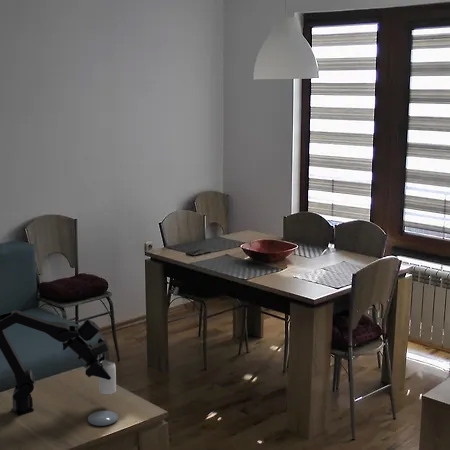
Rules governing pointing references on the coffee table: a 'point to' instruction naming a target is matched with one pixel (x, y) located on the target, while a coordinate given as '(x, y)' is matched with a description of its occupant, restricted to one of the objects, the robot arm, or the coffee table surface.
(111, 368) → the can
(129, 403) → the coffee table surface
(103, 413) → the dish
